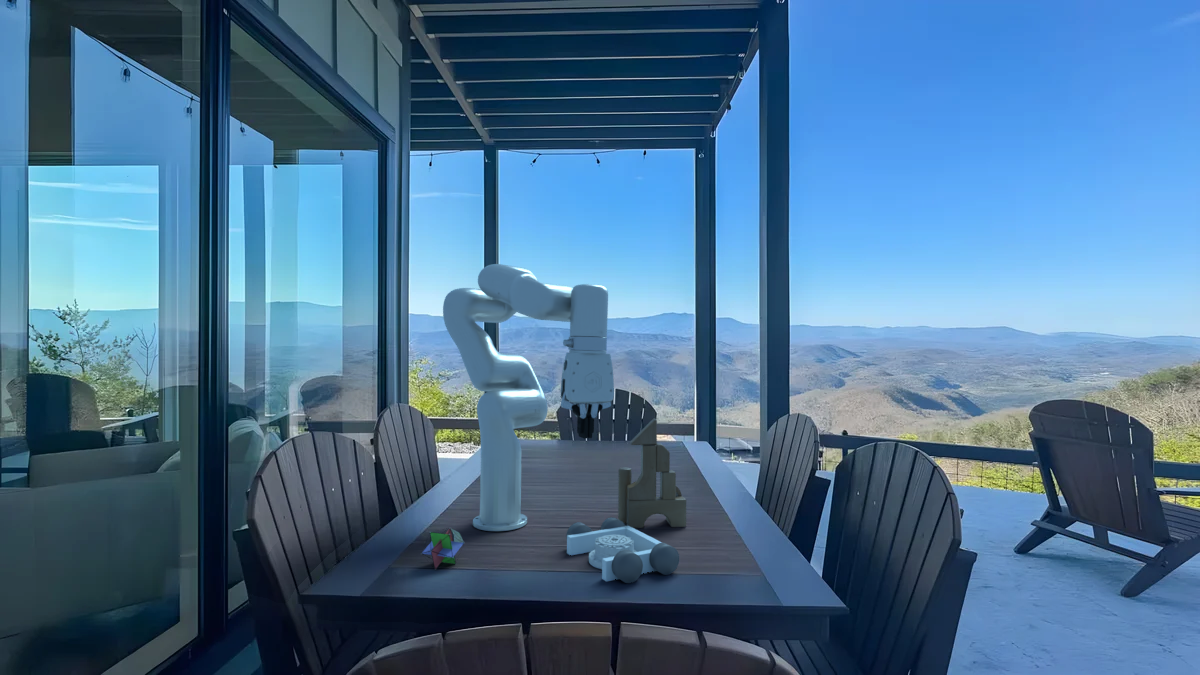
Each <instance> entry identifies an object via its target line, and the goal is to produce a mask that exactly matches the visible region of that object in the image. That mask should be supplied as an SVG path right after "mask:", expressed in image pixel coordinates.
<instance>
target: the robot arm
mask: <svg viewBox="0 0 1200 675" xmlns="http://www.w3.org/2000/svg"><path fill="white" fill-rule="evenodd" d="M477 284H478V287H479V288H476V287H475V288H474V287H472V288H471V287H461V288H460V287H459V288H454V289H453V290H450V291H449V292H448V293H447V294H446V296H445V297H444V301H443V306H442V314H443V315H442V316H443V321H444V326H445V327H446V330H447V332H448V335H449V336H450V338H451V339H452V341H453V342H454V344H455V345H456V348H457V349H458V351H459V352H458V353H459V354H460V356H461V360H462V361H463V362H462V363H463V364H464V367H465V369H466V370H465V371H466V372H467V375H468V377H469V379H470V381H471V383H472V385H473V387H474V388H475V389H476V390H478V391H480V392H485V393H483V394H482V395H481V396H480V397H479V398H478V402H477V405H476V413H477V415H476V416H477V420H478V425H479V434H480V484H479V492H480V493H479V515H477V516H475V517H474V518H473V519H472V526H473V527H474V528H475V529H477V530H480V531H481V530H482V531H487V532H507V531H512V530H518V529H521V528H523V527H525V525H527V523H528V516H527V515H525V514H523V513H521V512H522V511H521V509H522V508H521V507H522V506H521V504H522V502H521V501H522V444H521V442H520V440H519V438H518V436H517V434H516V432H515V430H516V429H519V428H520V429H521V428H530V427H531V428H532V427H536V426H538V425H539V426H540V425H541V424H542V423H543V422H544V421H545V420H546V418H547V416H548V402H547V399H546V396H545V393H544V391H543V388H542V387H541V384H540V382H539V380H538V377H537V376H536V373H535V371H534V369H533V367H532V364H531V363H530V362H529V360H528V359H527V358H525V357H524V356H523V355H521V354H517V353H502V352H499V351H498V350H497V349H496V347H495V345H494V342H493V340H492V338H491V337H490V335H489V334H488V333H487V331H486V330H484V329H483V327H481V326H480V325H478V323H479V322H480V323H491V324H492V323H493V324H499V323H504V322H506V321H508V320H509V319H511V318H512V317H513V316H514V315H515V314H517V313H519V314H521V315H523V316H526V317H529V318H532V319H533V320H538V321H539V320H540V321H554V322H562V323H563V322H564V323H565V322H566V323H569V336H568V338H567V339H564V340H563V342H562V343H563V347H567V348H568V350H569V352H566V353H565V357H564V361H563V366H562V372H561V380H560V397H561V401H560V407H561V408H563V409H566V410H570V411H571V412H573V414H574V416H575V417H576V418H577V421H576V422H577V423H576V425H577V426H576V432H577V434H578V437H579V438H582V439H593V434H594V432H595V418H597V416H598V414H599V413H600V412H601V410H604V409H608V408H610V407H612V401H613V400H614V396H615V384H614V369H613V362H612V361H613V360H612V355H611V353H607V350H608V349H607V348H608V347H607V345H608V343H607V342H608V311H609V308H608V307H609V291H608V289H607V287H605V286H604V285H600V284H595V283H594V284H589V283H583V284H577V285H574V286H568V285H567V286H566V285H560V284H553V283H545V282H540V281H539V280H538V278H537V277H536V276H535V275H534V273H533V272H532V271H530V270H529V269H528V268H526V267H519V266H514V265H506V264H501V263H494V264H493V263H492V264H488V265H486V266H485V267H483V268H482V269H481V270H480V272H479V274H478V277H477ZM476 322H478V323H476Z"/></svg>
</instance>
